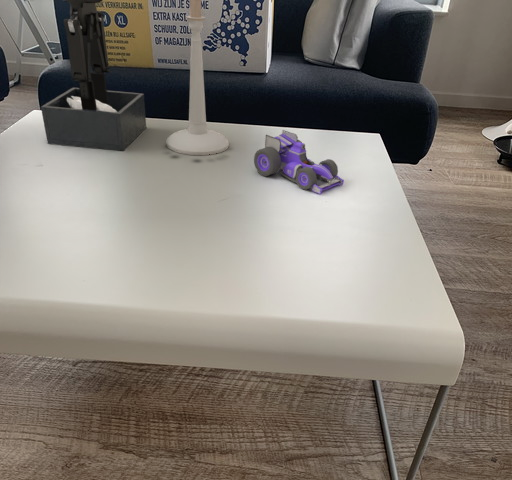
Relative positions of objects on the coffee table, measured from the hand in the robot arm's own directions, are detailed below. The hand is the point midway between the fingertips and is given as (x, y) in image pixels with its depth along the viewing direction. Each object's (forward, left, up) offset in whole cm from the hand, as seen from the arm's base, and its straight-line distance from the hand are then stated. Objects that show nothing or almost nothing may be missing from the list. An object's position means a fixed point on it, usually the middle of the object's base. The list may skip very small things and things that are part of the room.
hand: (96, 111), depth 111 cm
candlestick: (+21, 0, -5) cm, 22 cm away
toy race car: (+43, -13, -5) cm, 45 cm away
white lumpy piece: (0, +1, -3) cm, 3 cm away
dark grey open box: (0, 0, -5) cm, 5 cm away
